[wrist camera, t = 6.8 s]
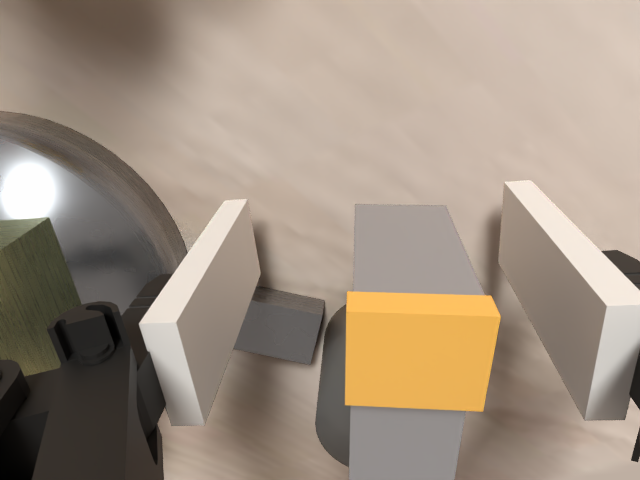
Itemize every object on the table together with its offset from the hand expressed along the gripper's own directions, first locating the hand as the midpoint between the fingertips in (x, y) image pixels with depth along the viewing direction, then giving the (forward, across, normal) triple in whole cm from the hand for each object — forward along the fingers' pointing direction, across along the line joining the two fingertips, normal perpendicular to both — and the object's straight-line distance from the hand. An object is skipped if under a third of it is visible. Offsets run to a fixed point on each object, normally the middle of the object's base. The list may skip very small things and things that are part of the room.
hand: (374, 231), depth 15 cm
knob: (+1, 0, +3) cm, 3 cm away
